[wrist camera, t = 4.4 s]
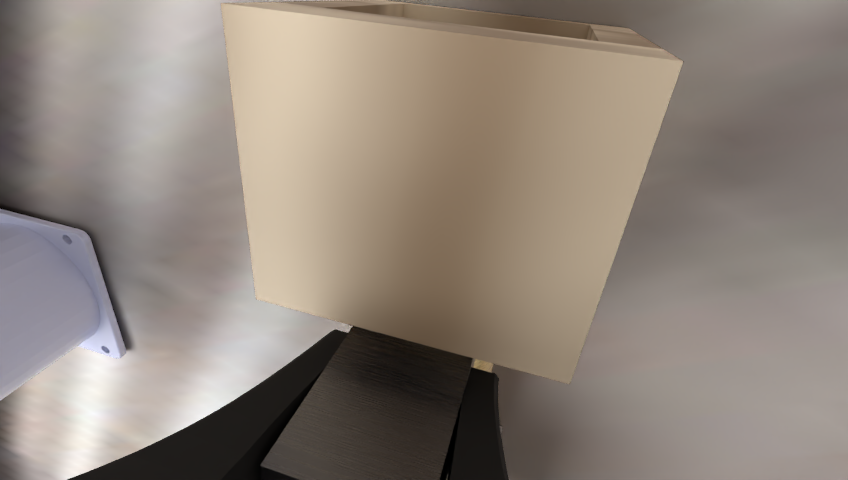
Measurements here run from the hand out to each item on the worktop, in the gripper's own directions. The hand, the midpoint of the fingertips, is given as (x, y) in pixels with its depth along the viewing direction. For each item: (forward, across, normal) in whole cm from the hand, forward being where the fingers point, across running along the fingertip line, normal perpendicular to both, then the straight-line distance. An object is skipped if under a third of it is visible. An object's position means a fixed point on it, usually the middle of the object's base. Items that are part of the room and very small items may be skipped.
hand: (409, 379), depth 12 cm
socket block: (+6, 0, -5) cm, 8 cm away
